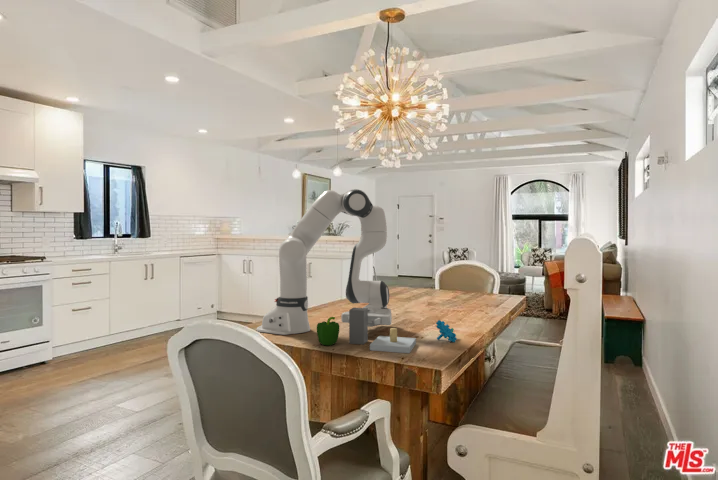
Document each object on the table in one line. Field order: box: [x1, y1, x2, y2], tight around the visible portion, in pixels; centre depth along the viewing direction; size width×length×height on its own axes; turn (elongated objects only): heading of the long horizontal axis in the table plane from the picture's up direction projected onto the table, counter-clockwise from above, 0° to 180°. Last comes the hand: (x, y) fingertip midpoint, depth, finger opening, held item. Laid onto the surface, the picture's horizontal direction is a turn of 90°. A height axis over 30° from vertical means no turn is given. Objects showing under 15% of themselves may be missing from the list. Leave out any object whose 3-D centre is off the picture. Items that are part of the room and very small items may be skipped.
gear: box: [435, 319, 458, 343], centre depth 173 cm, size 11×6×10 cm
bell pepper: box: [316, 316, 340, 346], centre depth 166 cm, size 8×8×10 cm
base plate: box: [369, 327, 417, 354], centre depth 162 cm, size 14×14×6 cm
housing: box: [348, 307, 369, 345], centre depth 169 cm, size 6×6×12 cm
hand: (361, 321), depth 173 cm, fingers open, 8 cm apart
